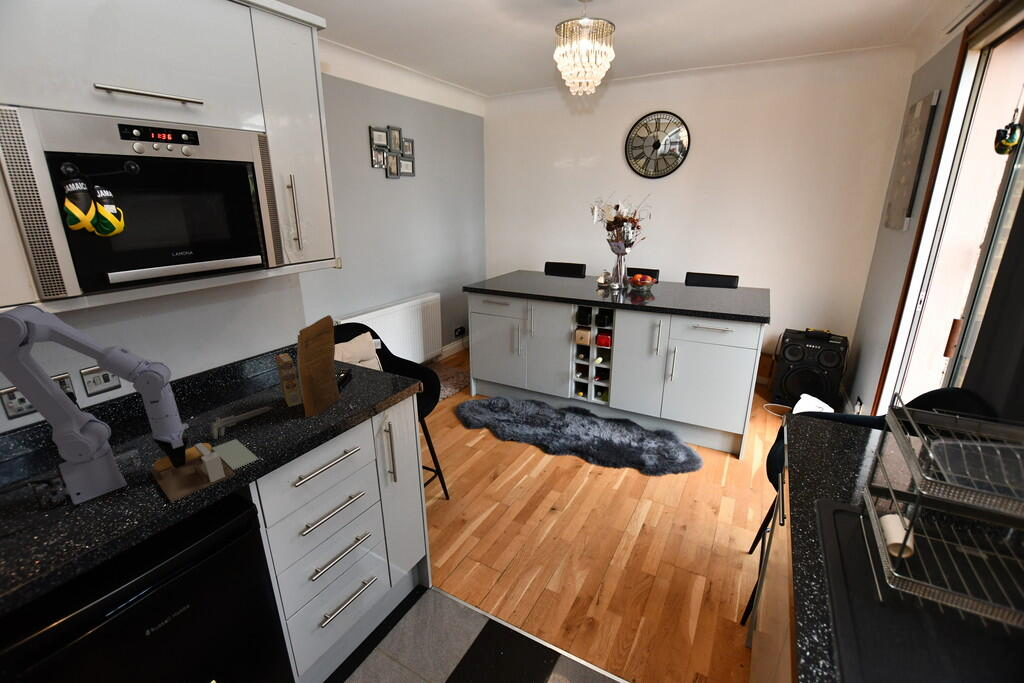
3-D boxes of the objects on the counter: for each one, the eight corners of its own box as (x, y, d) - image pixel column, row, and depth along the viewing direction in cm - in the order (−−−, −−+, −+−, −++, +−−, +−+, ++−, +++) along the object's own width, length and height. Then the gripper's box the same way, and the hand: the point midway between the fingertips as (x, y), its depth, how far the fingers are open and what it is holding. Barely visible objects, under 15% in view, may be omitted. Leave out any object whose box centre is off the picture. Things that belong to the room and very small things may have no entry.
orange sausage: (157, 474, 109) (154, 463, 109) (154, 470, 111) (151, 459, 110) (214, 453, 118) (211, 443, 117) (210, 449, 120) (207, 439, 119)
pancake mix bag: (352, 394, 155) (339, 313, 146) (315, 421, 137) (297, 331, 129) (335, 393, 156) (321, 313, 148) (296, 419, 139) (278, 330, 130)
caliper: (216, 441, 129) (211, 420, 127) (213, 440, 129) (208, 420, 127) (273, 409, 147) (269, 390, 145) (270, 408, 148) (266, 390, 146)
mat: (233, 470, 113) (232, 469, 113) (212, 449, 124) (211, 448, 124) (258, 460, 118) (258, 458, 117) (236, 440, 128) (235, 438, 128)
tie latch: (210, 482, 107) (205, 461, 106) (196, 466, 114) (190, 446, 113) (225, 476, 109) (219, 455, 108) (210, 460, 117) (204, 441, 115)
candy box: (302, 403, 149) (293, 359, 145) (288, 407, 147) (278, 362, 142) (296, 395, 156) (287, 352, 152) (282, 398, 154) (273, 355, 149)
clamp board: (170, 502, 102) (167, 492, 102) (150, 471, 115) (147, 462, 114) (234, 475, 111) (232, 466, 111) (209, 449, 124) (206, 441, 123)
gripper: (191, 416, 107) (205, 466, 112) (174, 400, 117) (188, 447, 121) (155, 427, 103) (171, 480, 107) (140, 410, 112) (155, 458, 116)
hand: (178, 463), depth 113 cm, fingers closed on orange sausage, 3 cm apart
